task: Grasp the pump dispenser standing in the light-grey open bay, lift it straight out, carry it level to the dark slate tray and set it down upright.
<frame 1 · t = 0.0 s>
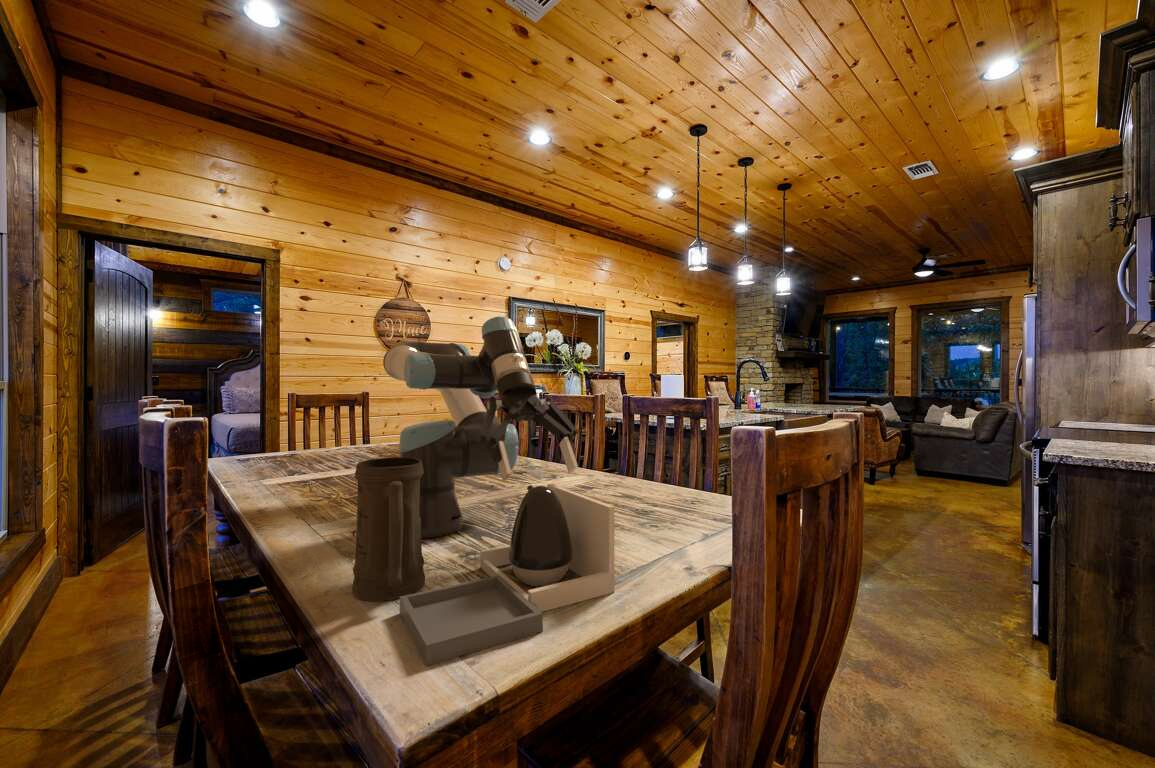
hand: (541, 473, 88), 15 cm above the table, tool tilted 35°, fingers open, 13 cm apart
beer stein: (393, 593, 73), on the table
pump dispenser: (540, 581, 78), resting in bay
tray: (468, 622, 64), on the table
bay: (543, 579, 78), on the table
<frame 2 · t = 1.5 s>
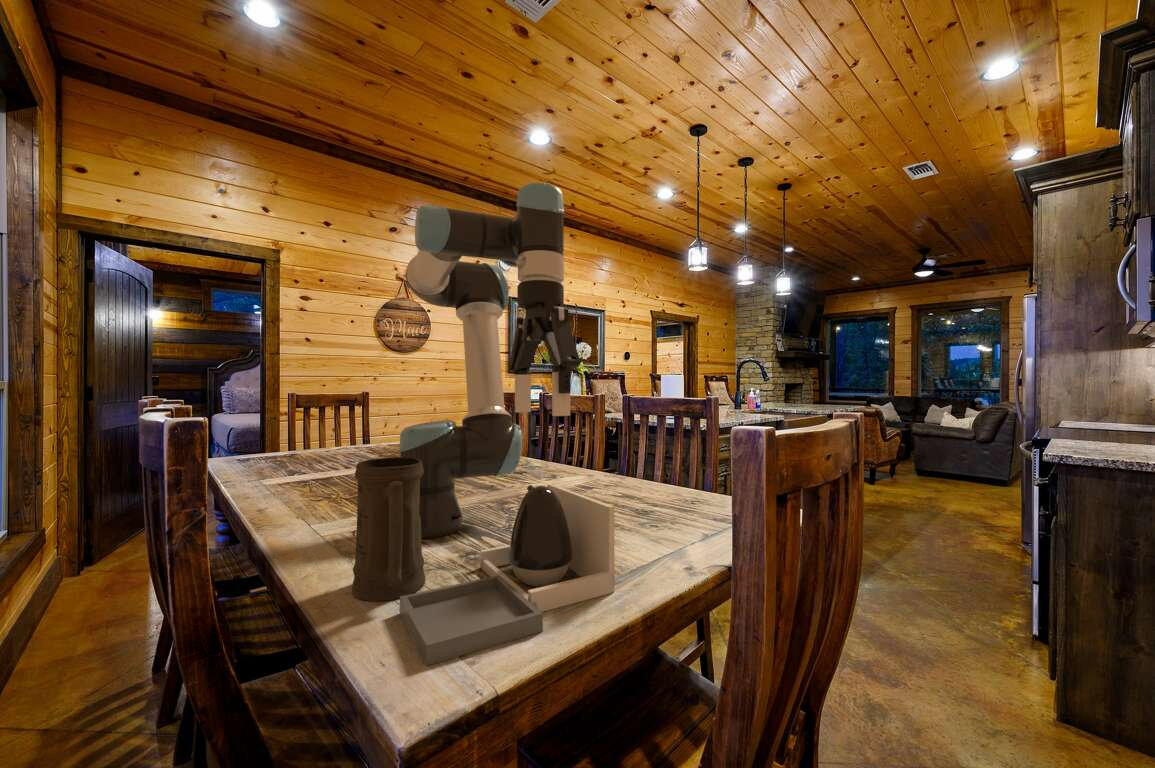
hand: (540, 414, 78), 27 cm above the table, tool pointing down, fingers open, 13 cm apart
nothing on the table moved.
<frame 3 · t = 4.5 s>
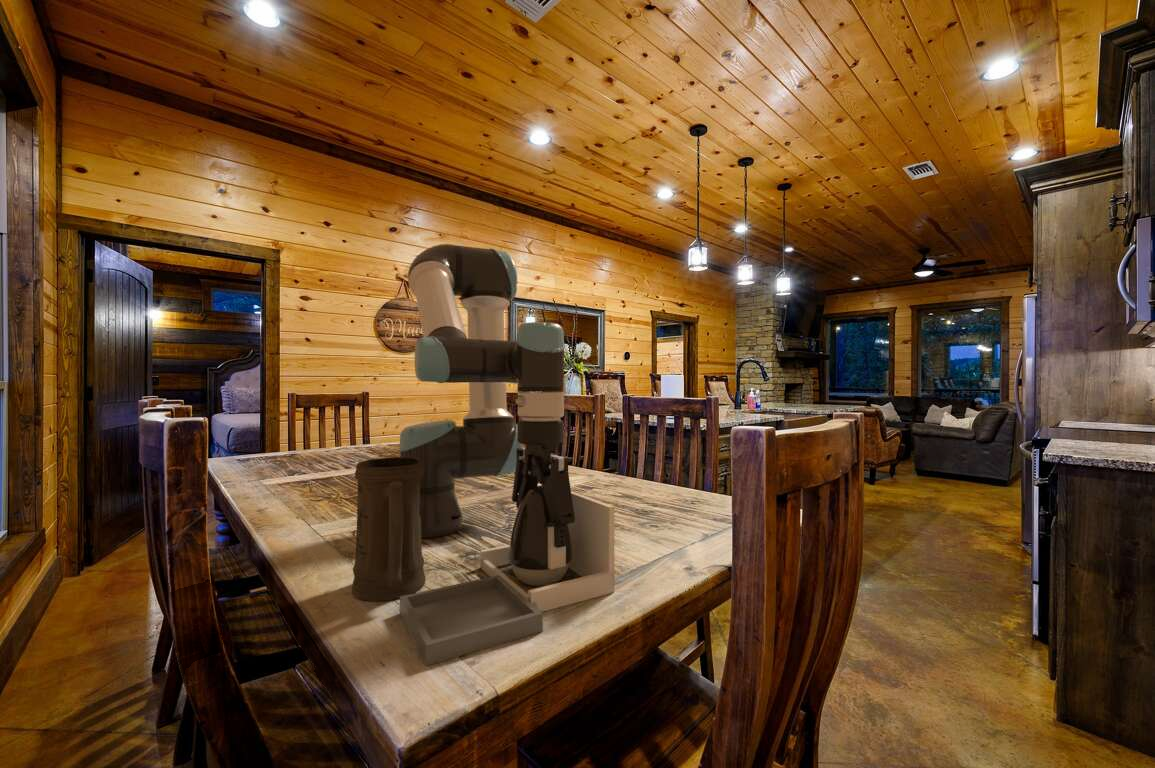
hand: (540, 556, 78), 4 cm above the table, tool pointing down, fingers closed on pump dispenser, 10 cm apart
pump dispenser: (540, 580, 78), resting in bay, touching gripper
everything else where it was.
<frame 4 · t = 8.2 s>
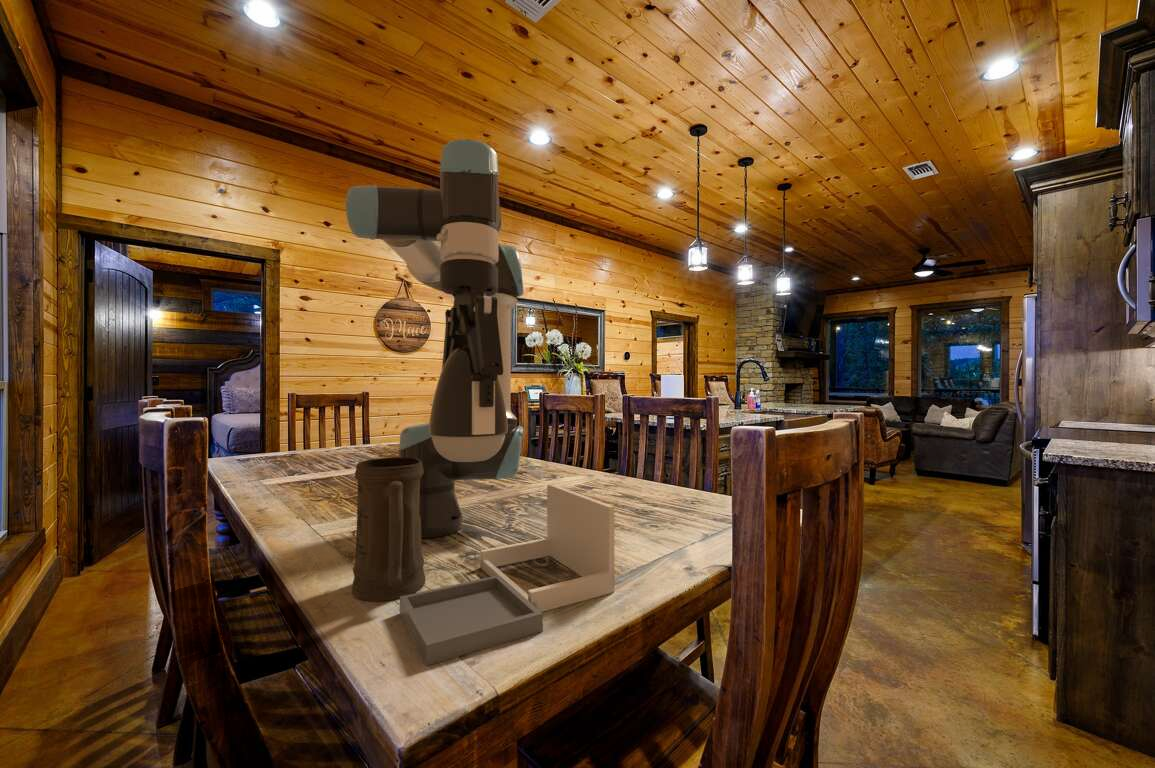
hand: (469, 430, 64), 25 cm above the table, tool pointing down, fingers closed on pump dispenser, 10 cm apart
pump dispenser: (468, 460, 64), point 21 cm above the table, touching gripper
everything else where it was.
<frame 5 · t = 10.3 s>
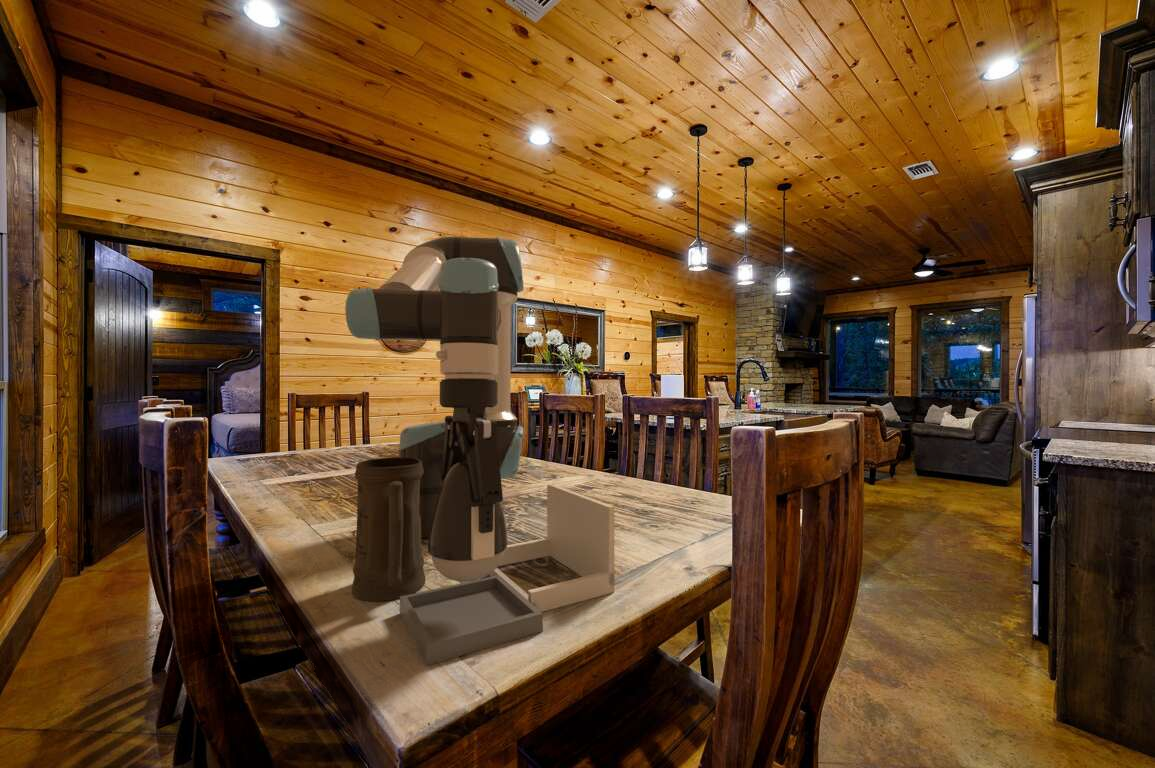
hand: (468, 545, 64), 10 cm above the table, tool pointing down, fingers closed on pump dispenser, 10 cm apart
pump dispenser: (468, 575, 64), point 6 cm above the table, touching gripper
everything else where it was.
when the fingers open (6 cm above the table, at t = 12.1 s): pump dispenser drops 1 cm, resting on tray.
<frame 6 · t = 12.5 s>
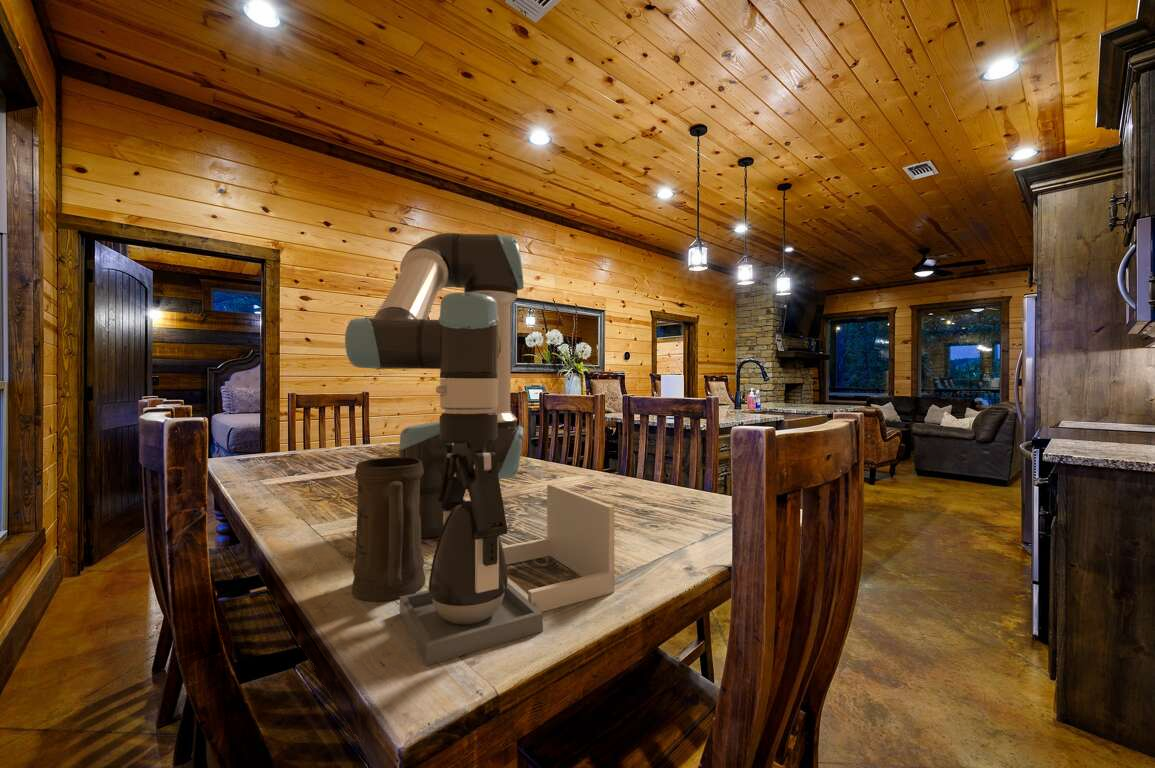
hand: (468, 571, 64), 7 cm above the table, tool pointing down, fingers open, 13 cm apart
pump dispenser: (468, 616, 64), point 1 cm above the table, touching tray
everything else where it was.
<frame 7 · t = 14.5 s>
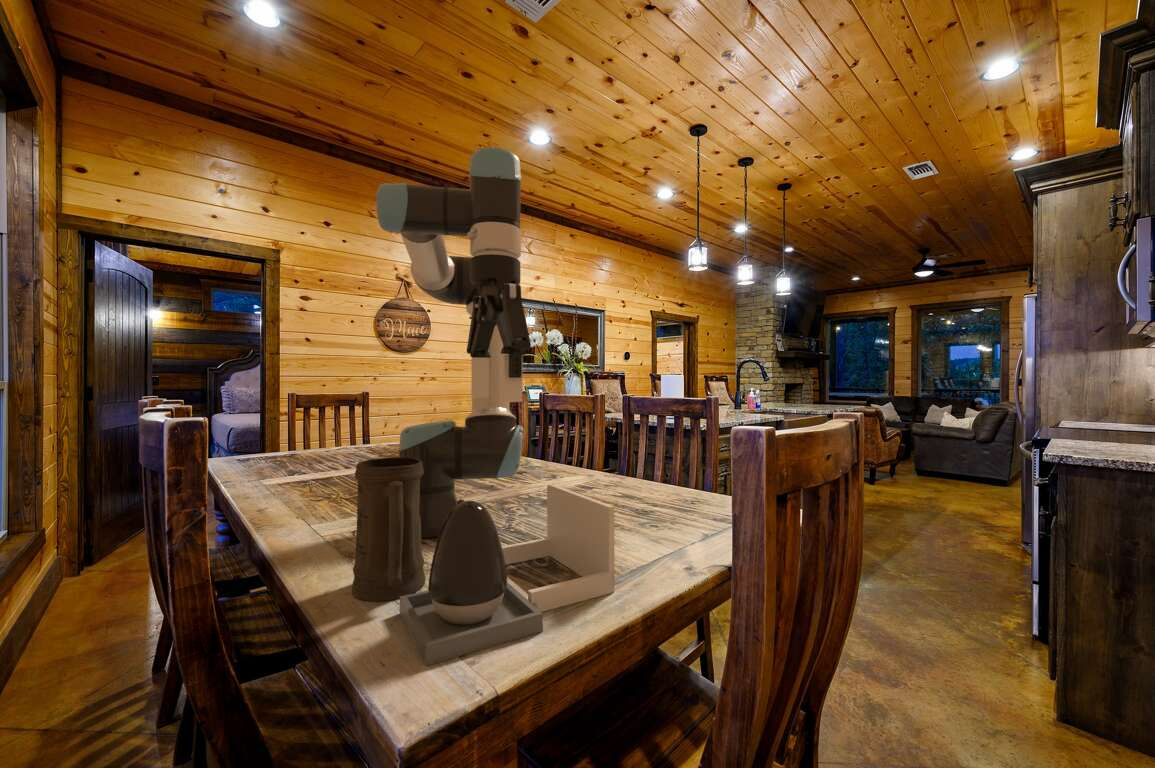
hand: (494, 399, 73), 29 cm above the table, tool pointing down, fingers open, 13 cm apart
nothing on the table moved.
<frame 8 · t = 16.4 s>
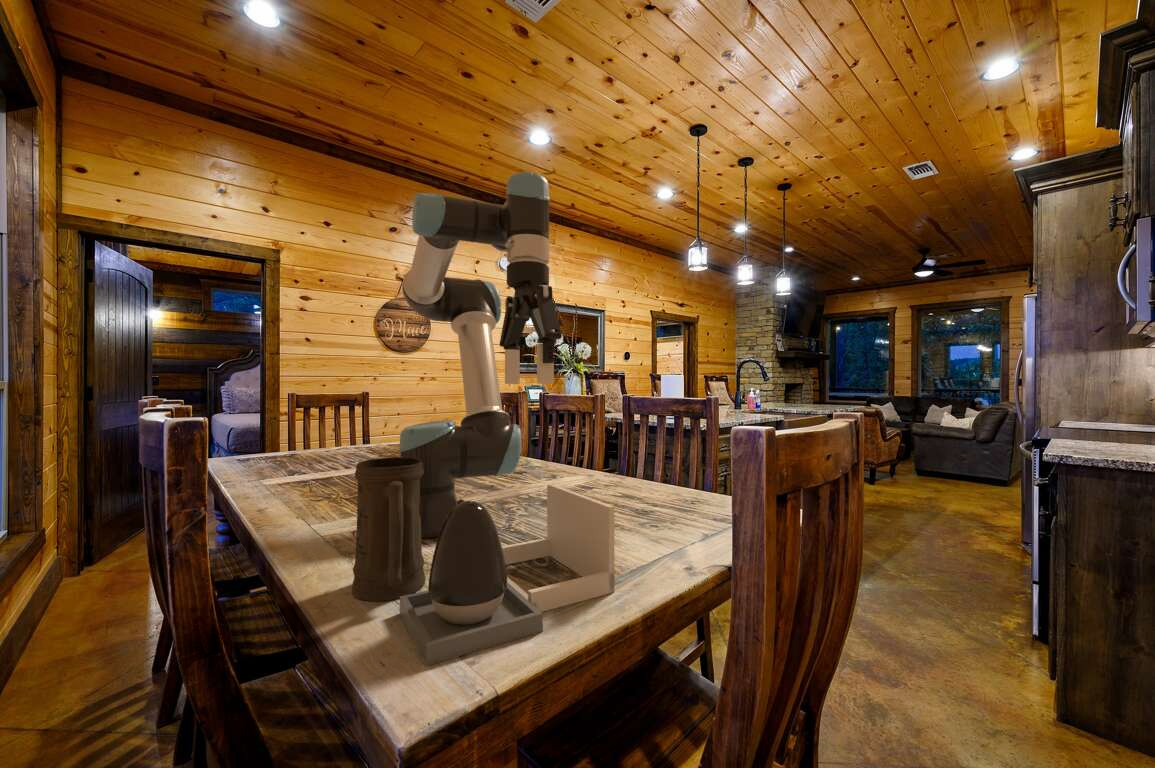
hand: (527, 384, 86), 32 cm above the table, tool pointing down, fingers open, 13 cm apart
nothing on the table moved.
at the end: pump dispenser inside the target area on the tray (0.2 cm from its centre), point 0.6 cm above the tray's base; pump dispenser tilted 0°; the gripper is holding nothing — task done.
